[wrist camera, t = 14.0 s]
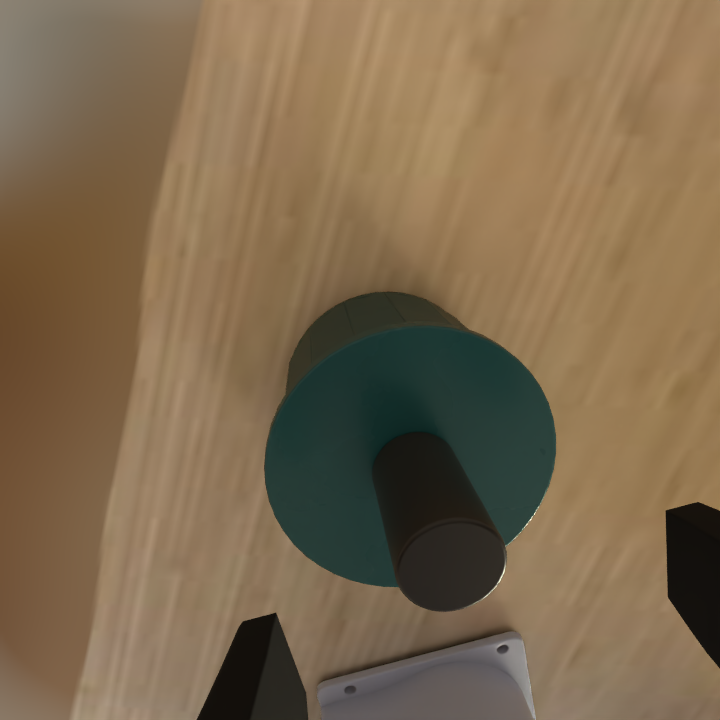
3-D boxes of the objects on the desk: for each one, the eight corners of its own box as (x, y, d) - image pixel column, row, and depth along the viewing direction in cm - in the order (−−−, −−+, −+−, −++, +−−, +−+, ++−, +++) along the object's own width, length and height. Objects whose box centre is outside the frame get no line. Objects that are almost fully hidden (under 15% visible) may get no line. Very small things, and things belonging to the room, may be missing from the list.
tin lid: (477, 582, 16) (542, 733, 12) (235, 531, 14) (205, 684, 10) (584, 361, 14) (715, 444, 9) (315, 276, 12) (321, 327, 8)
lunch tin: (314, 489, 20) (318, 594, 15) (262, 319, 17) (245, 374, 12) (489, 444, 20) (551, 533, 15) (460, 270, 18) (524, 304, 13)
